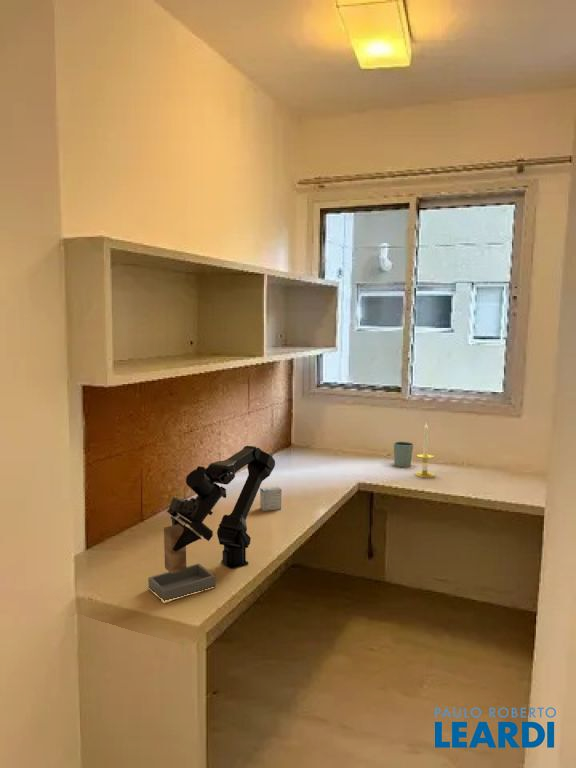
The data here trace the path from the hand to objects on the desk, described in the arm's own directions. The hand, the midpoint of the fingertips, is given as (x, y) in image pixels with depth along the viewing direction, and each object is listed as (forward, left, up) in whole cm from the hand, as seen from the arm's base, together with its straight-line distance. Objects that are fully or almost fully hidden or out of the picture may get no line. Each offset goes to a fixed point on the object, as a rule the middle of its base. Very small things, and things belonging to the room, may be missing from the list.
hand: (170, 547), depth 159 cm
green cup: (-160, -57, -13) cm, 171 cm away
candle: (-155, -38, -13) cm, 161 cm away
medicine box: (-63, -41, -13) cm, 77 cm away
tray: (-3, 0, -13) cm, 13 cm away
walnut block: (-1, 0, -7) cm, 7 cm away
